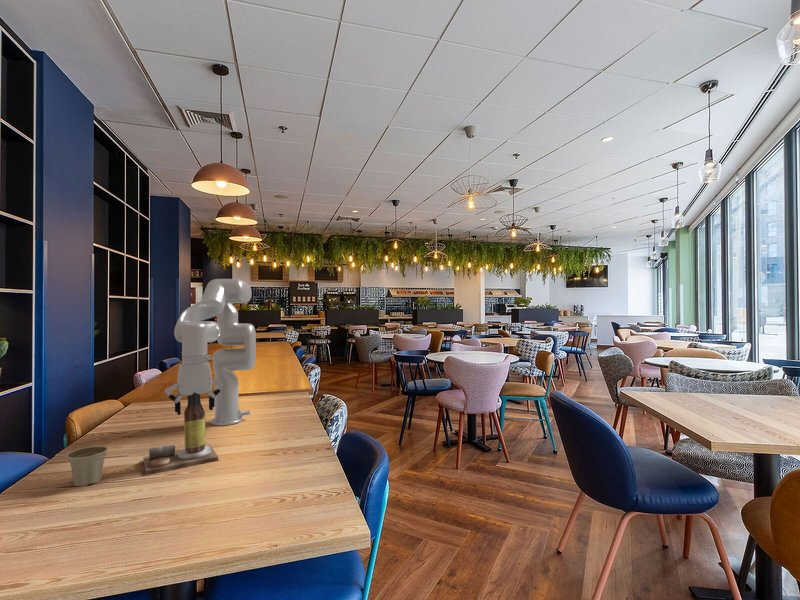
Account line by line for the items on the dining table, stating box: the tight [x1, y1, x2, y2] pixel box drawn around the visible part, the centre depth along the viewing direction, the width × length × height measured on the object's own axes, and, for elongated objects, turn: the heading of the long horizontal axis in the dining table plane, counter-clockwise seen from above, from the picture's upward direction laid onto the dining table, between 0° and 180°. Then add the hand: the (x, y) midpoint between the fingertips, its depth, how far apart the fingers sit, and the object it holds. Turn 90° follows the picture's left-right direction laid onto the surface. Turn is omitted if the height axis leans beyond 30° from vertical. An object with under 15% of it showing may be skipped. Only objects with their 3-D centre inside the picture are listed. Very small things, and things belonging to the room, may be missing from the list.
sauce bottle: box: [183, 392, 207, 453], centre depth 136 cm, size 7×6×20 cm
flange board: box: [143, 444, 219, 476], centre depth 133 cm, size 20×14×4 cm
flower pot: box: [66, 445, 109, 487], centre depth 117 cm, size 9×9×9 cm
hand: (195, 411), depth 136 cm, fingers open, 9 cm apart
